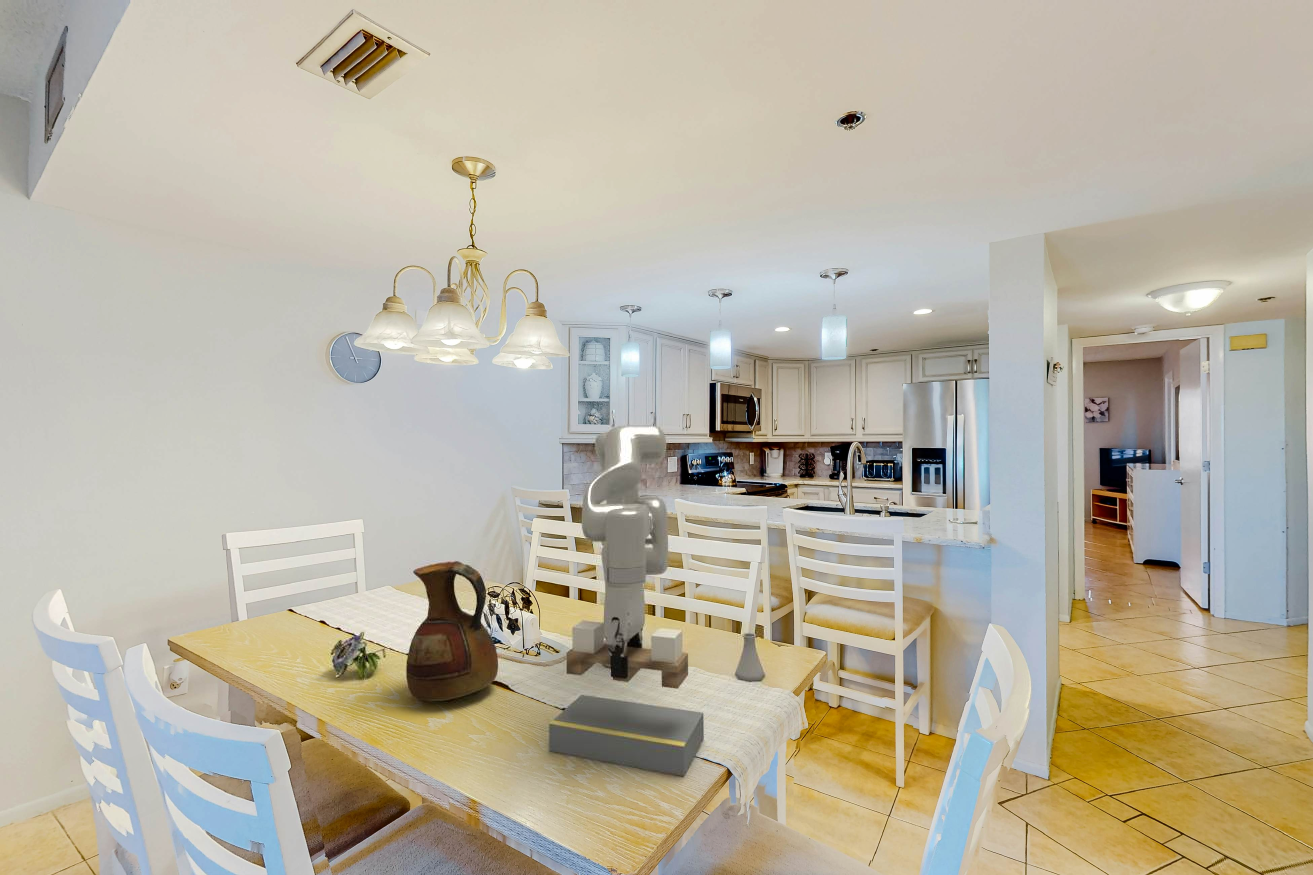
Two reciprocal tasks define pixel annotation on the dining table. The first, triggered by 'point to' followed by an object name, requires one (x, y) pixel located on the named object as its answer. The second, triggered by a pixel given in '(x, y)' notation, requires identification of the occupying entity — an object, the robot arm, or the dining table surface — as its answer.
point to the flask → (749, 661)
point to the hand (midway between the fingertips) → (626, 669)
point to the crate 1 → (588, 636)
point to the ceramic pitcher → (450, 639)
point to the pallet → (630, 664)
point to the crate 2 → (666, 645)
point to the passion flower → (354, 656)
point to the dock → (628, 734)
